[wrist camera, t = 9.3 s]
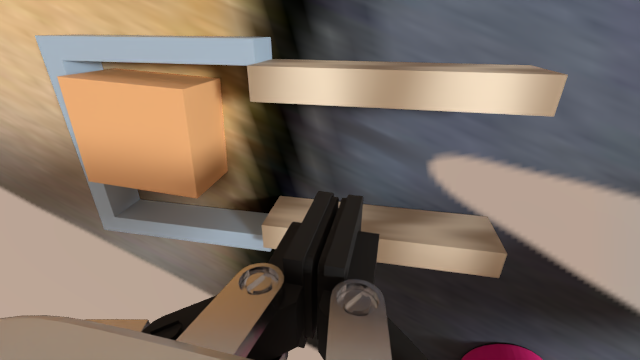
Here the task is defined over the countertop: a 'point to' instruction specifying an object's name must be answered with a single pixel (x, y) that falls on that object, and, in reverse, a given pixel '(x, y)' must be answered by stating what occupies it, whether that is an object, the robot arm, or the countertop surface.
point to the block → (148, 129)
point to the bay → (124, 203)
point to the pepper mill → (500, 353)
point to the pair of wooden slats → (417, 94)
